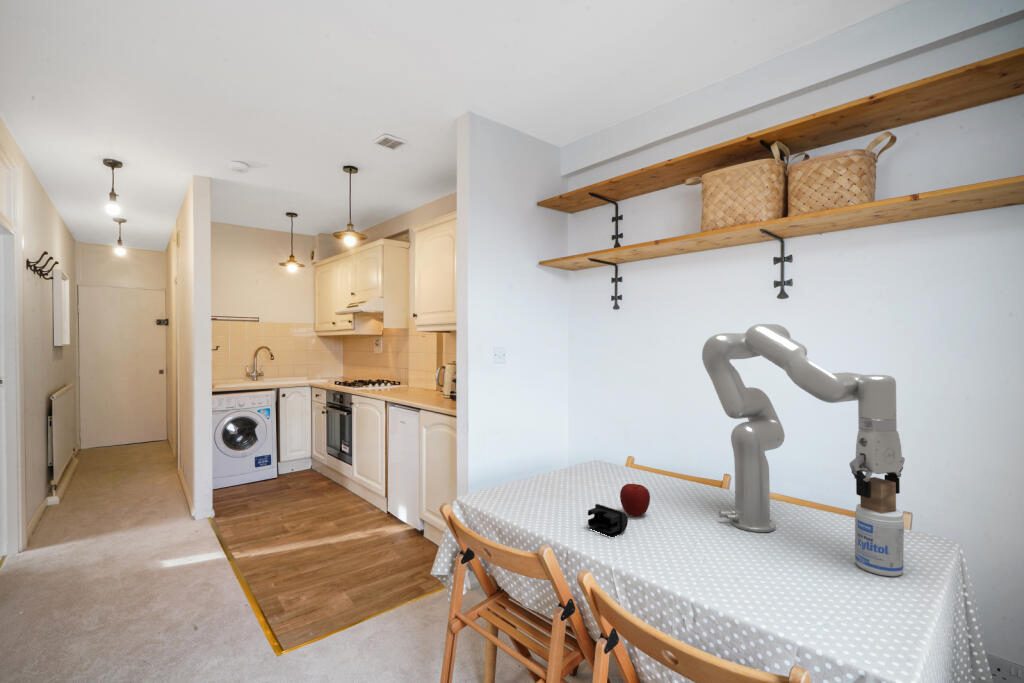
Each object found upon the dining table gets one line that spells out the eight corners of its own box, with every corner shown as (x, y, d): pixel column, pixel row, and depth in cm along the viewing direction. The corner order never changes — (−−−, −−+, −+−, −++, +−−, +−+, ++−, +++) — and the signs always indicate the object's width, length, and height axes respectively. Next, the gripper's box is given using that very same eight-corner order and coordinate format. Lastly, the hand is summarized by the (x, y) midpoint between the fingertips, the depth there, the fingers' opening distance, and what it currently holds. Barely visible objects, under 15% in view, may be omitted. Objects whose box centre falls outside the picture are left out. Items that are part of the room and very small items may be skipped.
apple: (639, 523, 150) (638, 490, 150) (614, 514, 157) (613, 484, 157) (656, 515, 156) (655, 484, 156) (631, 508, 163) (630, 478, 163)
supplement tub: (853, 569, 118) (852, 510, 118) (856, 556, 125) (856, 500, 125) (904, 582, 112) (903, 519, 112) (904, 567, 119) (904, 508, 119)
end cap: (628, 532, 142) (628, 510, 142) (613, 539, 138) (613, 515, 138) (601, 523, 150) (601, 501, 150) (586, 529, 145) (586, 506, 145)
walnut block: (881, 513, 115) (880, 484, 115) (860, 506, 120) (860, 478, 120) (896, 511, 117) (895, 482, 117) (875, 504, 122) (874, 477, 122)
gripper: (867, 429, 112) (867, 503, 112) (918, 425, 118) (919, 495, 117) (836, 424, 119) (837, 493, 119) (886, 420, 125) (887, 486, 125)
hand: (878, 494), depth 118 cm, fingers open, 9 cm apart
